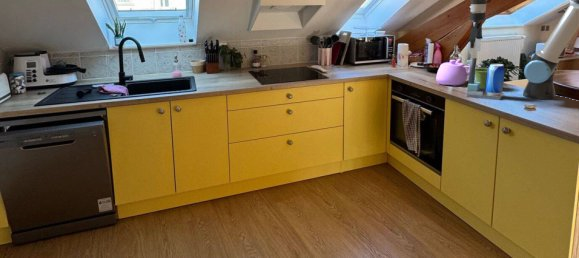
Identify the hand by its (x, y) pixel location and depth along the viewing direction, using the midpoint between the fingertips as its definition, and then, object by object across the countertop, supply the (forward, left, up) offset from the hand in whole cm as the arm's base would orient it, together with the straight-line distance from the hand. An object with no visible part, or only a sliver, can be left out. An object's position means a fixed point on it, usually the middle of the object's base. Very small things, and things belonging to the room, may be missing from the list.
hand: (474, 52), depth 234 cm
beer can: (-12, -1, -23) cm, 25 cm away
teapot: (+17, -27, -24) cm, 40 cm away
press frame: (-8, 0, -24) cm, 25 cm away
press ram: (-1, 0, -22) cm, 22 cm away
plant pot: (-3, -21, -24) cm, 32 cm away
